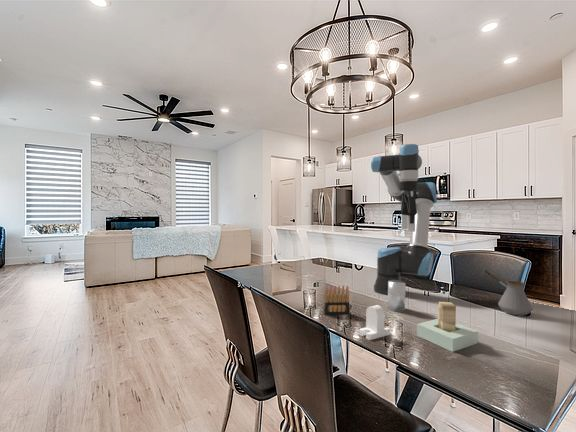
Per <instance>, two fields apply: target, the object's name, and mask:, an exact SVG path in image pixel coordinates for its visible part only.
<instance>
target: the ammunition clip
mask: <svg viewBox="0 0 576 432" xmlns="http://www.w3.org/2000/svg"><path fill="white" fill-rule="evenodd" d="M332 287H333V289H332ZM349 291H350V290H349V286H348V284H347V285H346V288H345V285H342V286H340V285H338V286H336V285H334V286H332V285H329V289H328V286H327V285H325V289H324V300H323V301H324V302H323V315H324V316H329V315H330V316H331V315H333V316H336V315H337V316H339V315H343V316H344V315H351V313H350V312H351V309H350V307H351V306H350V292H349Z"/></svg>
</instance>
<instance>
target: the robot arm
mask: <svg viewBox="0 0 576 432" xmlns="http://www.w3.org/2000/svg"><path fill="white" fill-rule="evenodd" d="M419 152H420V150H419V145H418V144H416V143H409V144H408V143H407V144H404V145H403V144H402V145H401V146H400V147H399V153H398V154H391V155H390V154H389V155H379V156H373V157H372V158H371V160H370V161H371V162H370V168H371V171H372V172H373V173H379V174H380V176H381V178H382V180H383V181H384V183H385V185H386V187H387V192H388V193H387V194H389V196H390V197H392V199H394V200H396V201H398V202H400V203H401V207H400V214H401V227H400V229H401V230H407V232H409V233H410V235H409V236H410V237H409V238H410V239H409V245H407V246H406V248H405V250H402V248H401V247H398V246H396V247H395V246H393V247H392V246H391V247H385V248H384V247H383V248H379V249H378V251H377V257H376V259H377V264H376V266H377V267H376V268H377V269H376V270H377V273H376V274H377V275H376V279H375V283H374V284H373V291H374V292H375V293H377V294H378V293H379V294H381V295H382V294H383V295H387V296H388V281H389V280H400V281H402V279H401V274H404V275H405V274H407V275H415V276H429V275H430V274H431V271H432V268H433V263H434V253H433V252H431V249H430V247H428V246H429V245H428V244H429V243H428V242H429V231H430V218H431V217H430V216H431V208H433V207H434V204H437V203H438V199H437V190H436V183H434V182H431V181H428V182H427V181H425V182H418V180H419V169H421V167H422V164H423V159H422V157H421V156H420V155H419Z"/></svg>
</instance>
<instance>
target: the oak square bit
mask: <svg viewBox="0 0 576 432" xmlns="http://www.w3.org/2000/svg"><path fill="white" fill-rule="evenodd" d="M456 314H457V306H456V305H455V304H454V303H452V302H449V301H448V302H447V301H438V318H437V319H438V328H439V329H442V330H444V331H447V332H453V331H455V327H456V323H457V322H456V320H457V319H456V318H457V317H456V316H457V315H456Z"/></svg>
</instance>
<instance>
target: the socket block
mask: <svg viewBox="0 0 576 432" xmlns="http://www.w3.org/2000/svg"><path fill="white" fill-rule="evenodd" d="M438 319H439V318H436V319H431V320H428V321H427V320H426V321H423V322H420V323H417V324H416V336H417V337H420V338H421V339H424V340H426V341H428V342H430V343H432V344H435V345H437V346H439V347H441V348H444V349H446V350H448V351H450V352H451V353H452V352H453V353H454V352H457V351H459V350H461V349H465V348H468V347H471V346H474V345H476V344H478V343H479V331H478V330H476V329H474V328H470V327H468V326H466V325H463V324H460V323H457V322H456V327H455V331H453V332H447V331H444V330H442V329H439V328H438Z"/></svg>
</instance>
